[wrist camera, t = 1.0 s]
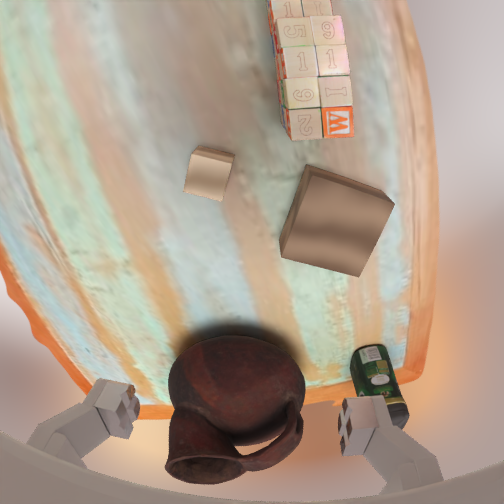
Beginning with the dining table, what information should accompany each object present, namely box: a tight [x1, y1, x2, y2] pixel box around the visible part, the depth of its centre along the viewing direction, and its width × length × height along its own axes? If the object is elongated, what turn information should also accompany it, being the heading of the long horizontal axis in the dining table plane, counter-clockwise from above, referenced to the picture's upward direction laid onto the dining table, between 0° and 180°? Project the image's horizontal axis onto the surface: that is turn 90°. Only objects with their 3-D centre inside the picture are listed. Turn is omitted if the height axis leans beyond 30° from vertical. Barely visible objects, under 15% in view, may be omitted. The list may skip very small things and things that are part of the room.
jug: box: [165, 335, 305, 484], centre depth 50 cm, size 25×25×25 cm
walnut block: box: [279, 164, 395, 277], centre depth 43 cm, size 12×12×5 cm
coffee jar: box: [350, 345, 409, 430], centre depth 53 cm, size 10×8×19 cm
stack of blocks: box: [266, 0, 354, 141], centre depth 28 cm, size 21×6×12 cm, turn 7°
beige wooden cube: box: [183, 146, 235, 202], centre depth 40 cm, size 5×5×5 cm
